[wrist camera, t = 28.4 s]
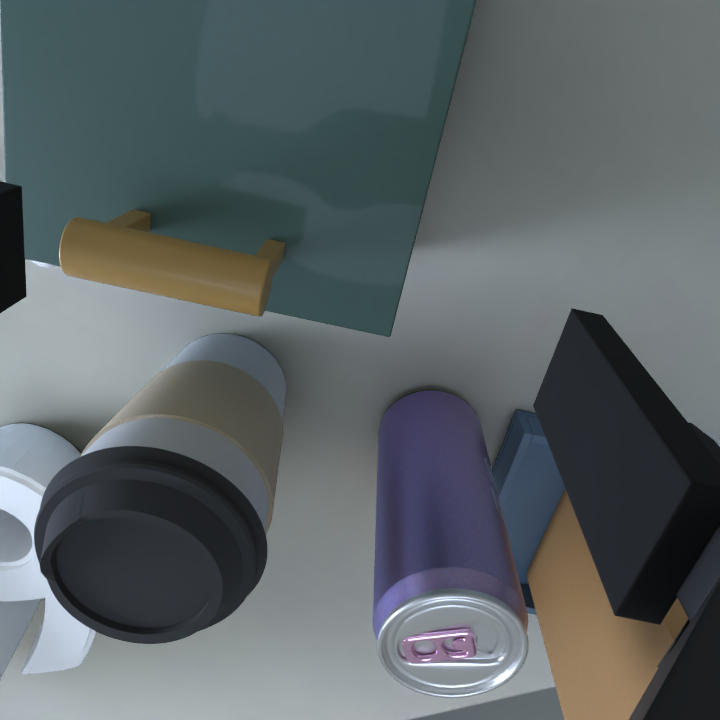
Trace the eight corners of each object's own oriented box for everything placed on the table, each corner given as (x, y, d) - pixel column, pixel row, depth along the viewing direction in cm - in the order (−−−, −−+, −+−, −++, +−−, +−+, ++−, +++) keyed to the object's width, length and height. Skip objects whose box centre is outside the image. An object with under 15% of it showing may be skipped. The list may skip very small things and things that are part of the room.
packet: (679, 471, 36) (833, 692, 23) (612, 590, 40) (712, 829, 28) (581, 451, 36) (685, 664, 23) (525, 573, 40) (587, 807, 27)
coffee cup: (335, 369, 34) (301, 568, 21) (259, 475, 38) (188, 703, 25) (192, 284, 33) (54, 444, 19) (126, 405, 36) (-29, 610, 23)
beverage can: (369, 394, 35) (356, 602, 22) (472, 376, 34) (525, 582, 21) (389, 476, 38) (389, 708, 24) (485, 462, 37) (541, 694, 23)
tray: (760, 460, 36) (784, 487, 34) (664, 611, 42) (680, 642, 39) (515, 408, 35) (524, 432, 33) (453, 570, 41) (456, 599, 39)
